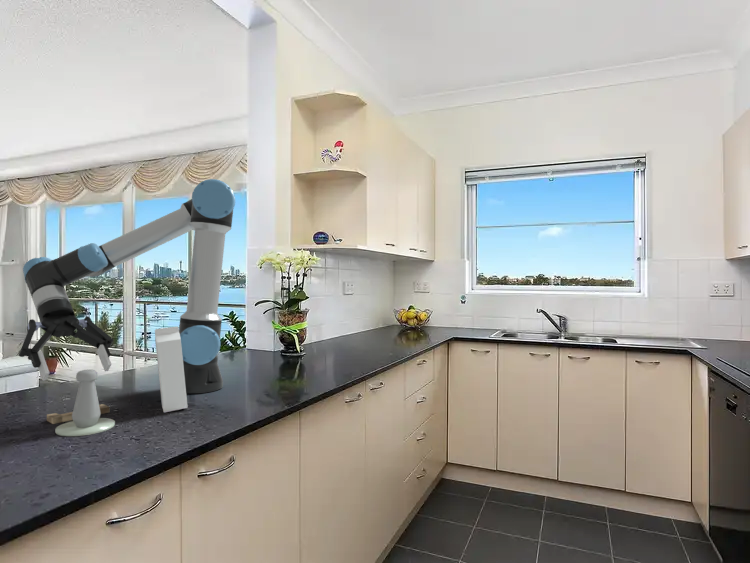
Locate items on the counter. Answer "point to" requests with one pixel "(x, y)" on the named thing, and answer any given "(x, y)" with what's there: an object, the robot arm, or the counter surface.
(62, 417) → the oak holder
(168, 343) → the milk
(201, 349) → the robot arm
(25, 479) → the counter surface
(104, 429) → the disc
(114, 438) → the counter surface
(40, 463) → the counter surface
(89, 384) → the salt shaker
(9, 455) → the counter surface
